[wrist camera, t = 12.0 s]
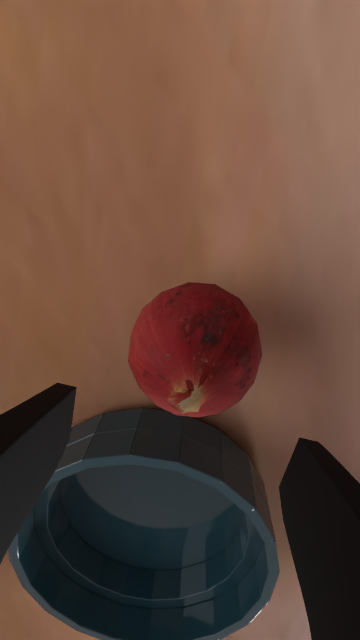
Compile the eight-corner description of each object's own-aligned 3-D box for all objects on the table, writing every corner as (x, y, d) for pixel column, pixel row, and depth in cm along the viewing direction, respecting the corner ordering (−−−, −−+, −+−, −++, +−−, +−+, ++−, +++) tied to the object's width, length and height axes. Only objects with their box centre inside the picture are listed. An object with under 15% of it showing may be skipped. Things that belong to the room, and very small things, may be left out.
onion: (174, 248, 17) (152, 285, 10) (270, 300, 18) (317, 372, 10) (128, 339, 19) (78, 427, 12) (215, 384, 20) (222, 495, 12)
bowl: (17, 528, 25) (-21, 594, 21) (87, 364, 20) (55, 408, 16) (201, 601, 26) (200, 677, 22) (309, 464, 21) (335, 530, 17)
